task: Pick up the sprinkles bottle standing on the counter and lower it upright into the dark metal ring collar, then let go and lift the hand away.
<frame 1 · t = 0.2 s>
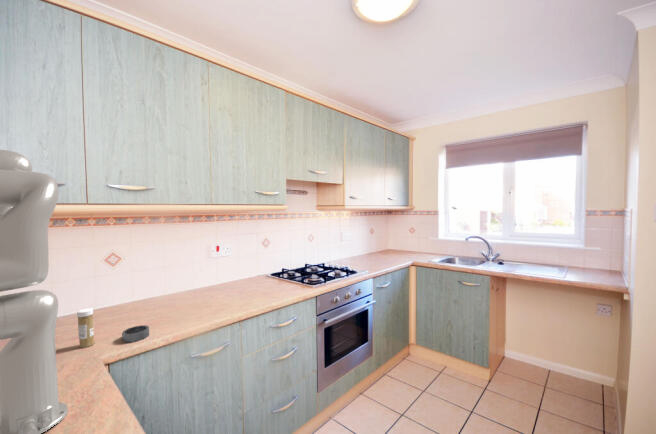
socket collar: (136, 337, 112), on the countertop
sprinkles bottle: (87, 345, 107), on the countertop
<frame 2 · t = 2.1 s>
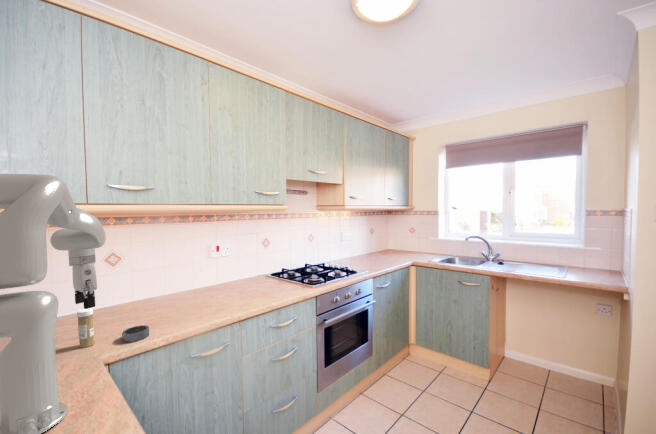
hand: (85, 305, 106), 15 cm above the countertop, tool pointing down, fingers open, 9 cm apart
nothing on the countertop moved.
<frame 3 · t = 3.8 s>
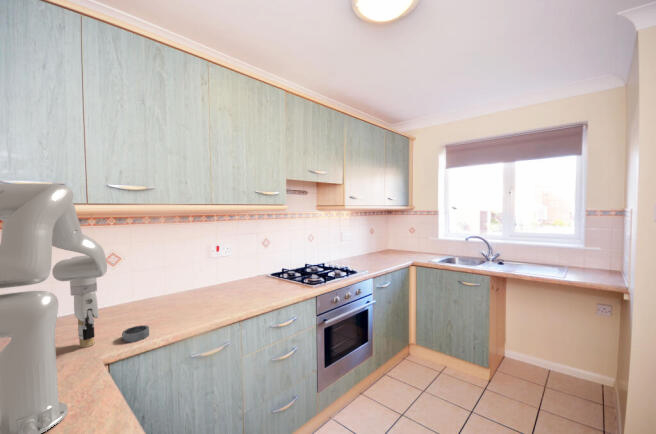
hand: (86, 336, 106), 3 cm above the countertop, tool pointing down, fingers closed on sprinkles bottle, 4 cm apart
sprinkles bottle: (87, 345, 107), on the countertop, touching gripper
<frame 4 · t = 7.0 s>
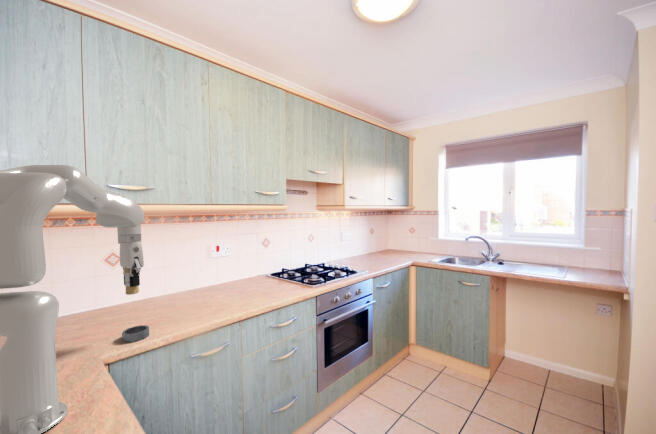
hand: (131, 284, 111), 21 cm above the countertop, tool pointing down, fingers closed on sprinkles bottle, 4 cm apart
sprinkles bottle: (132, 293, 111), point 18 cm above the countertop, touching gripper
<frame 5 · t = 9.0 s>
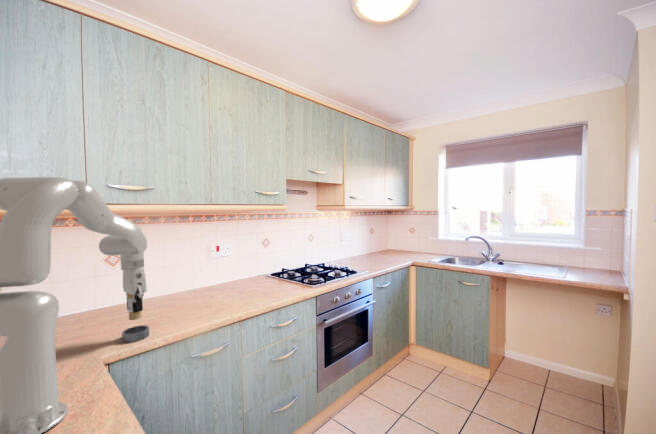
hand: (135, 309, 112), 11 cm above the countertop, tool pointing down, fingers closed on sprinkles bottle, 4 cm apart
sprinkles bottle: (135, 318, 112), point 7 cm above the countertop, touching gripper
when the fingers open (5 cm above the countertop, at t = 10.6 s): sprinkles bottle drops 1 cm, resting in socket collar.
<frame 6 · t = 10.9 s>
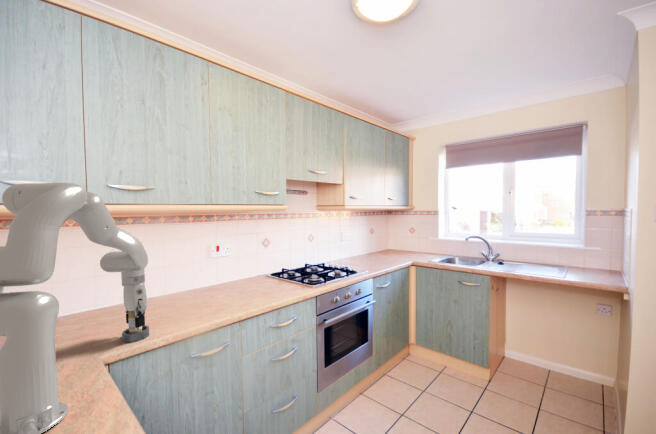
hand: (135, 324, 112), 5 cm above the countertop, tool pointing down, fingers open, 7 cm apart
sprinkles bottle: (136, 338, 112), resting in socket collar
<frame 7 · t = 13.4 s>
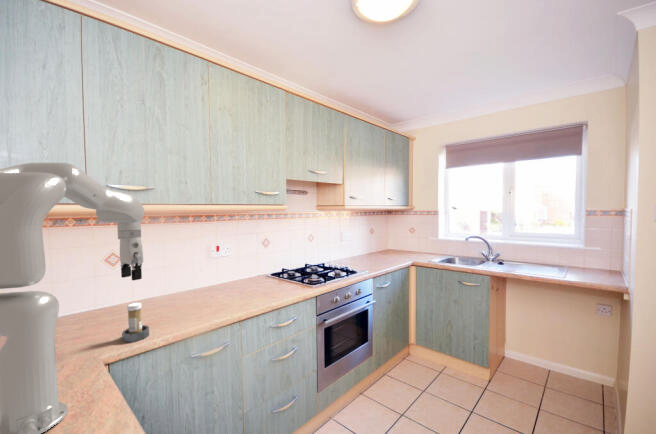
hand: (131, 278, 111), 24 cm above the countertop, tool pointing down, fingers open, 9 cm apart
nothing on the countertop moved.
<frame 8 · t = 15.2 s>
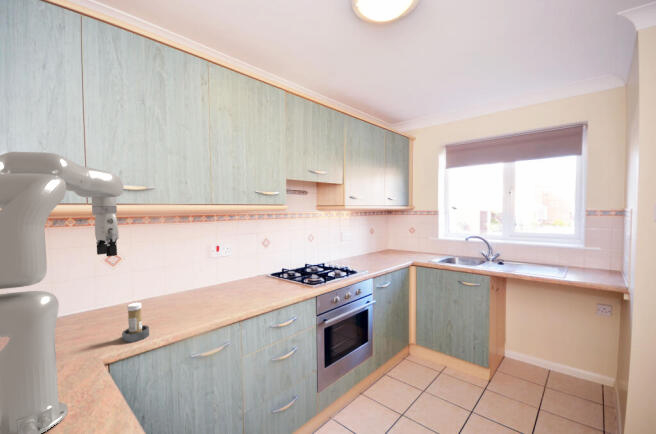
hand: (106, 255, 110), 33 cm above the countertop, tool pointing down, fingers open, 9 cm apart
nothing on the countertop moved.
at the end: sprinkles bottle 0.1 cm from the socket collar (horizontally); sprinkles bottle tilted 0°; the gripper is holding nothing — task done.
